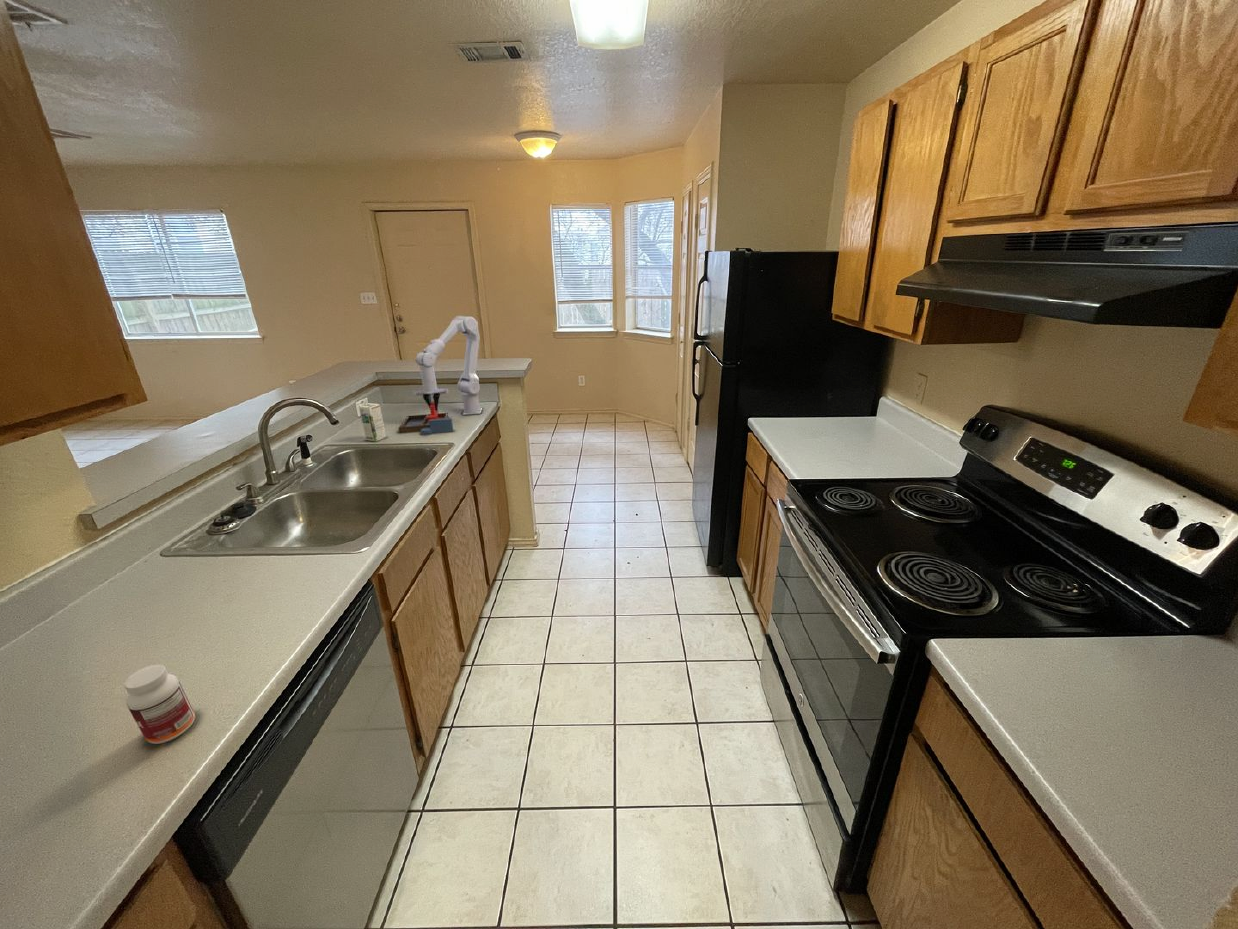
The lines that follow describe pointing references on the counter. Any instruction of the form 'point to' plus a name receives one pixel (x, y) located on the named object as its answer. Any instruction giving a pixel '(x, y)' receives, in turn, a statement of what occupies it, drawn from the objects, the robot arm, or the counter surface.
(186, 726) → the pill bottle
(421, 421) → the sorting tray
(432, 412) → the red spoon
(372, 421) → the syrup box
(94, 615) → the counter surface
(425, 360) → the robot arm
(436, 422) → the blue spoon
